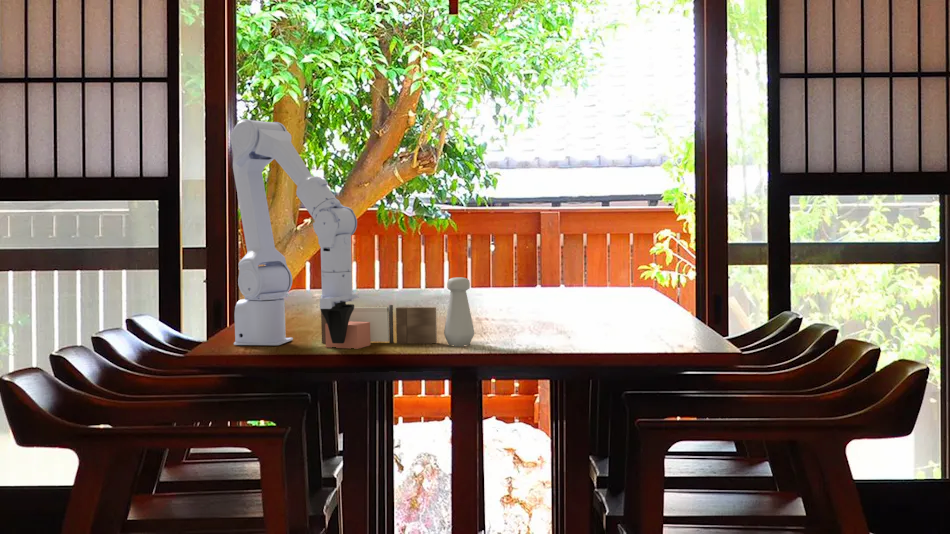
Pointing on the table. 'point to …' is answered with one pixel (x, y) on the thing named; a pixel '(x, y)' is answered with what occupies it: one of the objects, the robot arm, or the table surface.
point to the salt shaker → (458, 314)
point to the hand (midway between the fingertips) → (338, 343)
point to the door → (374, 321)
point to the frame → (408, 325)
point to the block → (352, 336)
